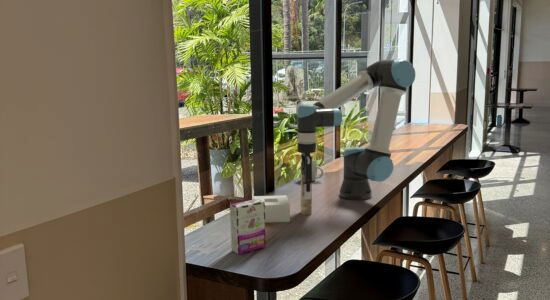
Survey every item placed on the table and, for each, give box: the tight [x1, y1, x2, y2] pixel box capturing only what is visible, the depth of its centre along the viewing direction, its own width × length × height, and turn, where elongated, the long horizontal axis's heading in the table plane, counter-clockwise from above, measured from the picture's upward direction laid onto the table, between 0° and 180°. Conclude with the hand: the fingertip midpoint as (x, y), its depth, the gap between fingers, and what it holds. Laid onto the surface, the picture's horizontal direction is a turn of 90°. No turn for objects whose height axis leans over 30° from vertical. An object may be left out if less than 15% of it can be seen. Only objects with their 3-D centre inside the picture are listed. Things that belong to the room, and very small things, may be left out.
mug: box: [300, 160, 324, 182], centre depth 262 cm, size 13×9×10 cm
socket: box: [252, 194, 291, 223], centre depth 200 cm, size 14×14×7 cm
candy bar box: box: [229, 199, 267, 255], centre depth 164 cm, size 11×5×16 cm, turn 126°
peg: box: [300, 169, 313, 216], centre depth 204 cm, size 4×4×18 cm
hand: (306, 195), depth 204 cm, fingers open, 9 cm apart
